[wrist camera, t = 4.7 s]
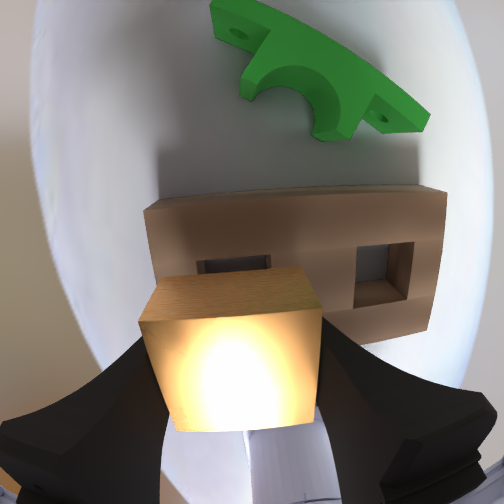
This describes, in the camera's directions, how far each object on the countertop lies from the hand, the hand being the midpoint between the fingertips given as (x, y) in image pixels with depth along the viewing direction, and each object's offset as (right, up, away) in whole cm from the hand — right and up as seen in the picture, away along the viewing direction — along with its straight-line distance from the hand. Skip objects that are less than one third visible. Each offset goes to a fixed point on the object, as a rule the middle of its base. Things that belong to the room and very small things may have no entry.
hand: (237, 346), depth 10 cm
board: (+4, +3, +7) cm, 9 cm away
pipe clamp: (+3, +13, +4) cm, 14 cm away
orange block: (0, +1, +3) cm, 4 cm away
